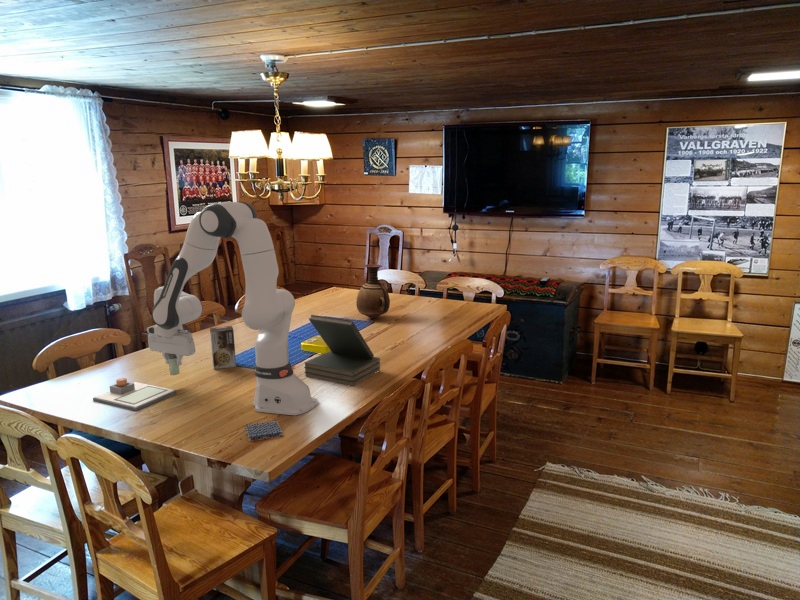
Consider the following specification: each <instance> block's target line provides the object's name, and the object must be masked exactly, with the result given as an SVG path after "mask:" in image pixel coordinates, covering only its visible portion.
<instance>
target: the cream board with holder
mask: <svg viewBox="0 0 800 600" xmlns="http://www.w3.org/2000/svg"><path fill="white" fill-rule="evenodd" d="M175 394H178V391H177V390H176V389H172V388H167V387H163V386H159V385H152V384H148V383H143V382H138V381H134V382H131V381H130V382H129V381H127V385H126V386H124V387H117V383H114V384H111V385H109V391H108V392H105V393H102V394H100V395H97V396H95V397H92V401H93V402H97V403H99V404H100V403H101V404H105V405H110V406H113V407H117V408H121V409H127V410H130V411H131V410H132V411H134V412H137V411H140V410H141V409H144V408H146V407H149V406H150V405H153V404H155V403H157V402H159V401H162V400H164V399H166V398H168V397H171V396H173V395H175Z"/></svg>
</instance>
